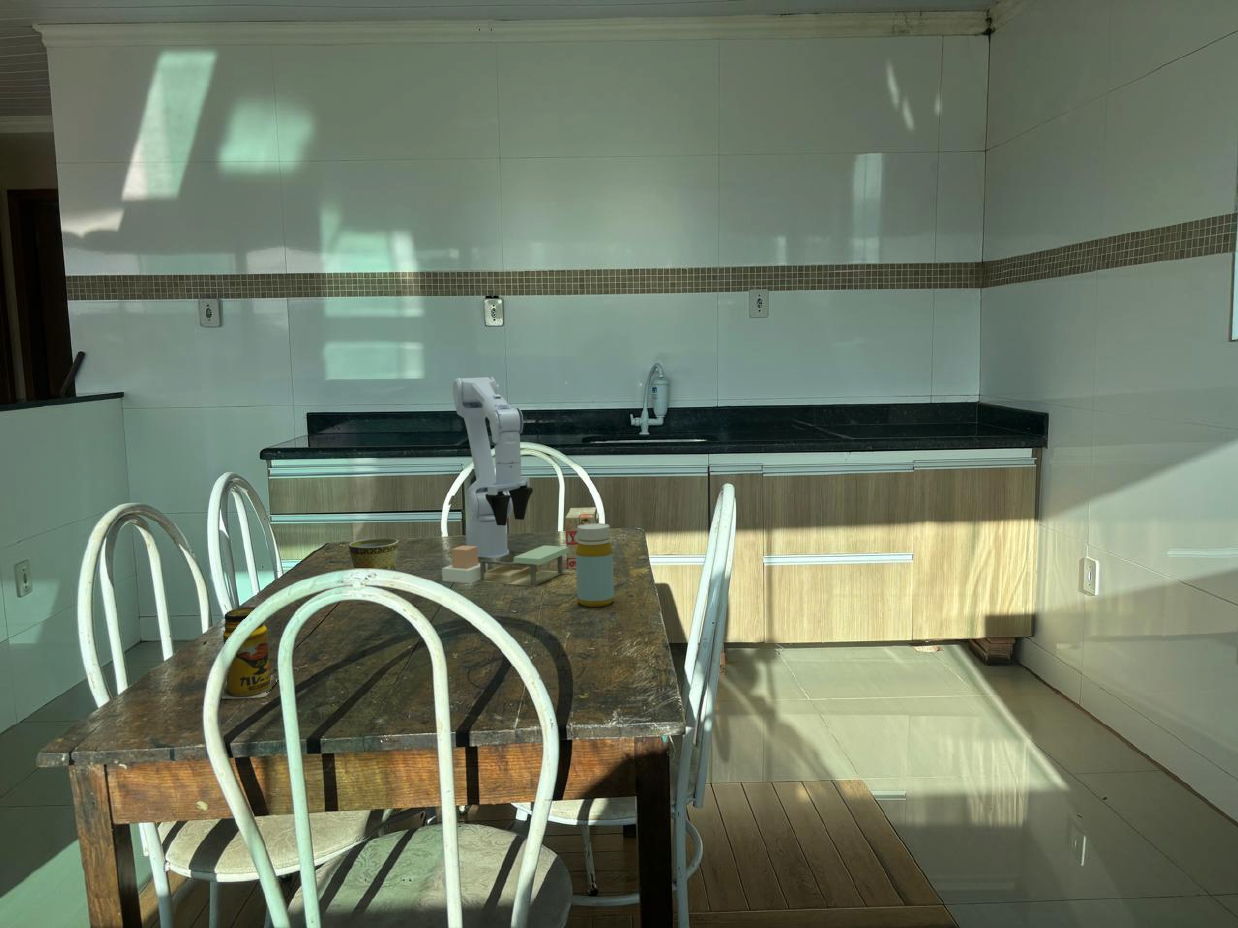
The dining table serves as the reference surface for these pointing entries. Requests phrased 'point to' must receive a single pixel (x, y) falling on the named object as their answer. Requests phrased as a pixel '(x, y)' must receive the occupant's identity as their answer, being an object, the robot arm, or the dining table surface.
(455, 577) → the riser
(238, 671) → the condiment
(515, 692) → the dining table surface
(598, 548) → the bottle
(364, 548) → the ceramic cup
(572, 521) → the stack of blocks
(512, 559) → the grey frame
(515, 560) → the lid
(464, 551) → the block
